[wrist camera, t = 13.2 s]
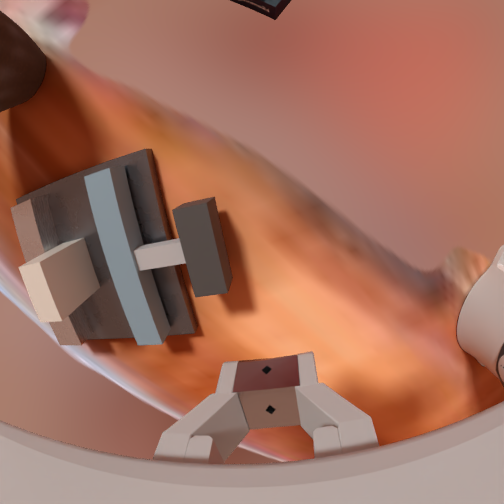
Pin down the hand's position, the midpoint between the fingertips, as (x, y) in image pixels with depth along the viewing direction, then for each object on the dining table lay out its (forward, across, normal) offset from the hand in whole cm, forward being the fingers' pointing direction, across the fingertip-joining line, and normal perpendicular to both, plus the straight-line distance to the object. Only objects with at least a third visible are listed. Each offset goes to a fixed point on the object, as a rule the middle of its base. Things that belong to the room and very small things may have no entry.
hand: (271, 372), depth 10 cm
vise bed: (+21, +20, 0) cm, 29 cm away
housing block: (+20, +22, 0) cm, 30 cm away
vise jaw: (+19, +10, 0) cm, 22 cm away
